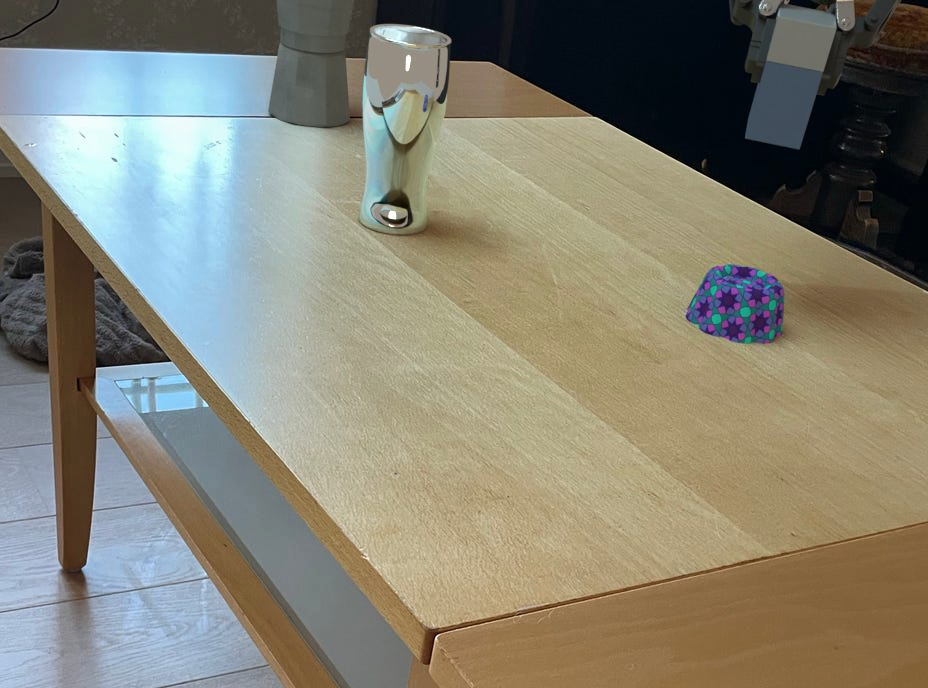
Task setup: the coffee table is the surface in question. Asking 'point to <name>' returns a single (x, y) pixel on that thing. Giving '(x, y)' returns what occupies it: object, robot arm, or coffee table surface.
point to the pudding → (738, 305)
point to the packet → (791, 76)
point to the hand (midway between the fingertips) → (789, 80)
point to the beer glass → (401, 123)
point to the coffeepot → (312, 63)
